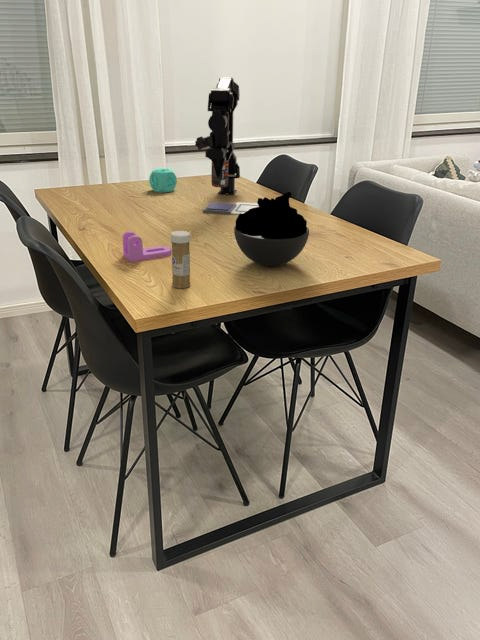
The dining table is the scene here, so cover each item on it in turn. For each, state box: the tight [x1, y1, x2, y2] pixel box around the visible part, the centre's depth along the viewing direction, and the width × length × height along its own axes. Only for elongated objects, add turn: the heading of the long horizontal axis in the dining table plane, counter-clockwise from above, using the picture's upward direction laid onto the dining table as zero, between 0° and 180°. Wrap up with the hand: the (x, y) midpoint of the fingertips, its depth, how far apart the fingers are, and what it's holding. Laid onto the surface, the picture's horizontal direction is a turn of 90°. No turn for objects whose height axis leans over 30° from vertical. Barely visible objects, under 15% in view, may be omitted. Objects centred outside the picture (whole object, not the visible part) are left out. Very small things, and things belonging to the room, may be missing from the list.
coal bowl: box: [233, 191, 310, 267], centre depth 155 cm, size 20×20×19 cm
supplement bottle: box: [211, 155, 228, 188], centre depth 204 cm, size 6×6×11 cm
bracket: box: [122, 230, 172, 262], centre depth 162 cm, size 13×6×7 cm, turn 119°
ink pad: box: [202, 201, 237, 215], centre depth 210 cm, size 11×10×1 cm
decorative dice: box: [148, 168, 178, 193], centre depth 235 cm, size 8×8×8 cm
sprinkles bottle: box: [170, 230, 191, 289], centre depth 140 cm, size 5×5×13 cm
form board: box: [230, 201, 259, 216], centre depth 211 cm, size 16×14×1 cm
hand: (220, 174), depth 205 cm, fingers closed on supplement bottle, 6 cm apart
